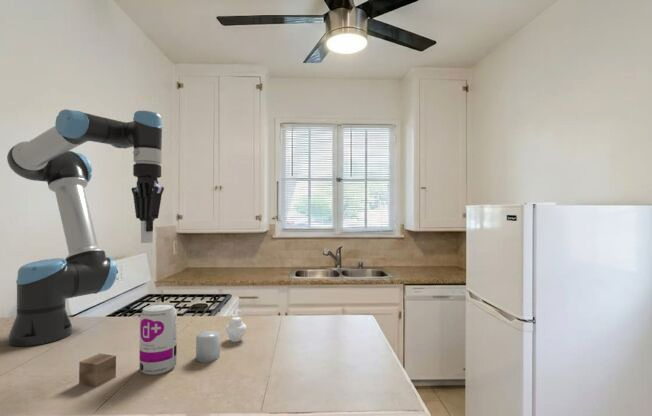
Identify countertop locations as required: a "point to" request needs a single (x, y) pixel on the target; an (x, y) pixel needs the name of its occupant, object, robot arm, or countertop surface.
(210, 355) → the white rounded cylinder
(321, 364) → the countertop surface
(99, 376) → the walnut block
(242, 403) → the countertop surface
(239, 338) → the white ribbed rounded piece
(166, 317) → the supplement can
